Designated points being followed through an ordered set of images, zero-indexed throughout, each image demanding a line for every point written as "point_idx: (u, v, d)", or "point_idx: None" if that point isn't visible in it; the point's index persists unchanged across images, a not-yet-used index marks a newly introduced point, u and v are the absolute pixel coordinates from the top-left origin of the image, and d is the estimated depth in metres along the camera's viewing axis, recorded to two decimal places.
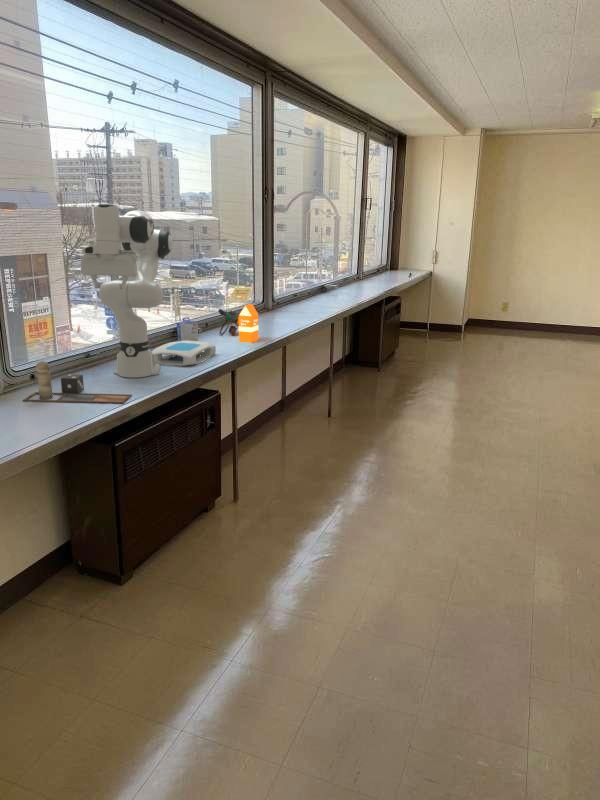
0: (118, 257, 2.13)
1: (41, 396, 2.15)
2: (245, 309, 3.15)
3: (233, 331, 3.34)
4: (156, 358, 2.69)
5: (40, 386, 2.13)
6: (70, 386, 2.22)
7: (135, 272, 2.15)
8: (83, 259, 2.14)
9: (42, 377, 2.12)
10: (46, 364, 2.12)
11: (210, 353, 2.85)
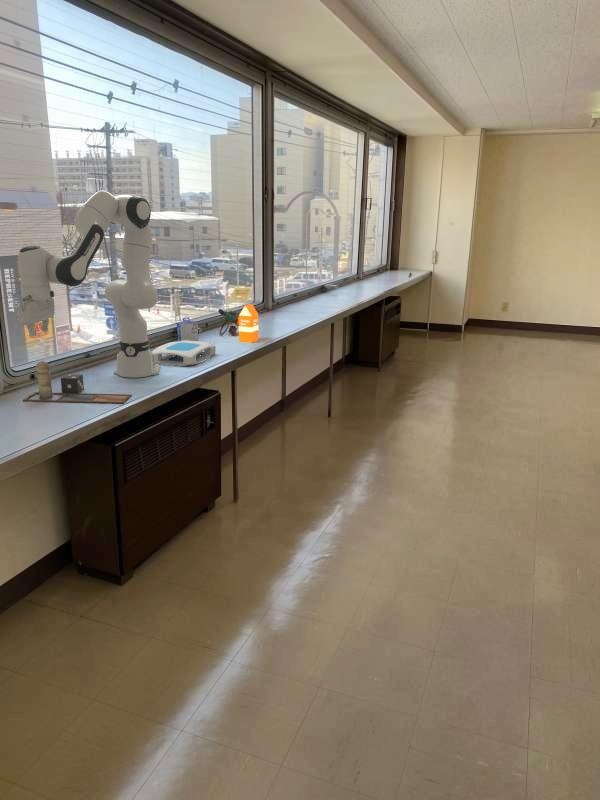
0: None
1: (41, 396, 2.15)
2: (245, 309, 3.15)
3: (233, 331, 3.34)
4: (156, 358, 2.69)
5: (40, 386, 2.13)
6: (70, 386, 2.22)
7: (22, 321, 1.98)
8: None
9: (42, 377, 2.12)
10: (46, 364, 2.12)
11: (210, 353, 2.85)
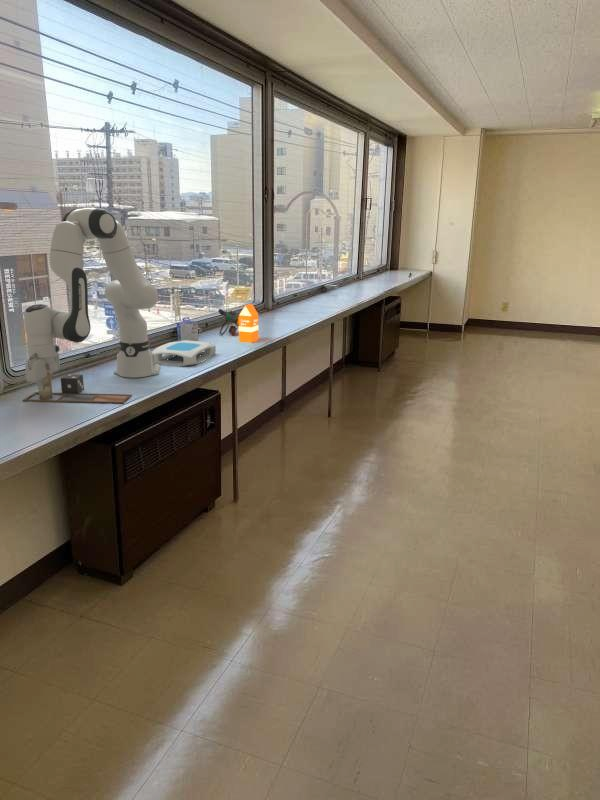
0: None
1: (41, 396, 2.15)
2: (245, 309, 3.15)
3: (233, 331, 3.34)
4: (156, 358, 2.69)
5: None
6: (70, 386, 2.22)
7: (29, 379, 2.04)
8: None
9: None
10: (46, 364, 2.12)
11: (210, 353, 2.85)
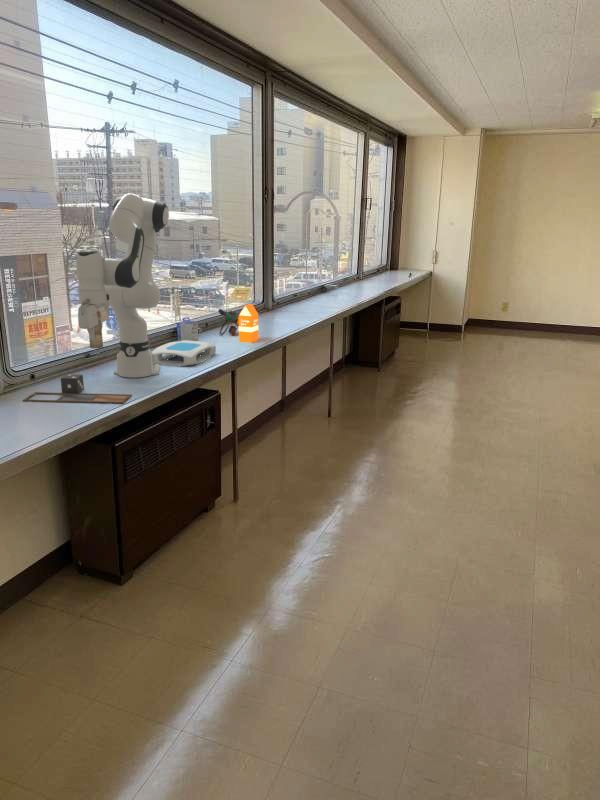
0: None
1: (92, 345, 2.09)
2: (245, 309, 3.15)
3: (233, 331, 3.34)
4: (156, 358, 2.69)
5: None
6: (70, 386, 2.22)
7: (82, 325, 1.98)
8: None
9: None
10: (97, 311, 2.06)
11: (210, 353, 2.85)
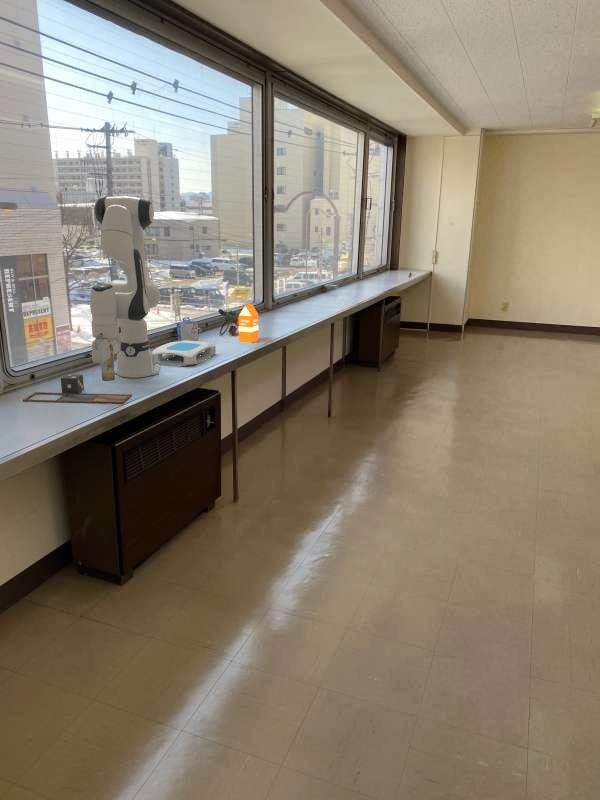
0: None
1: (104, 377, 2.12)
2: (245, 309, 3.15)
3: (233, 331, 3.34)
4: (156, 358, 2.69)
5: None
6: (70, 386, 2.22)
7: (95, 359, 2.02)
8: None
9: None
10: (110, 345, 2.10)
11: (210, 353, 2.85)
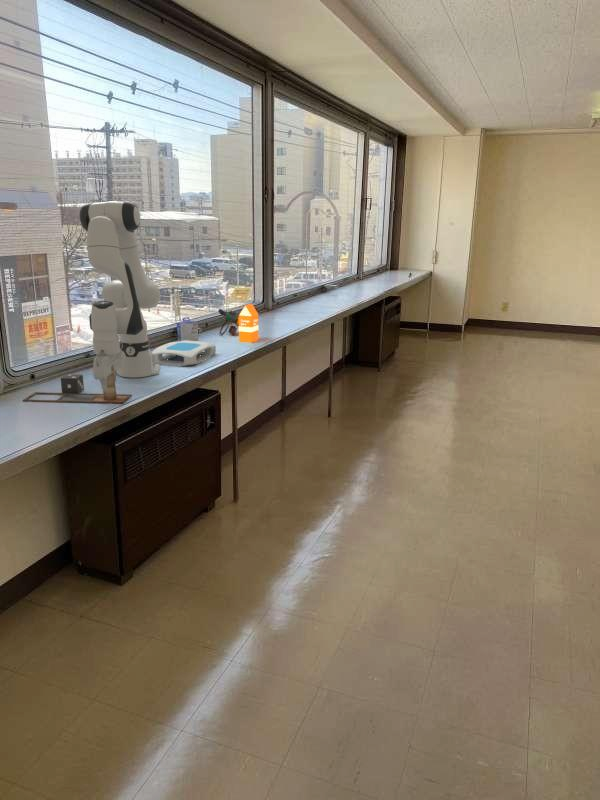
0: None
1: (106, 397, 2.14)
2: (245, 309, 3.15)
3: (233, 331, 3.34)
4: (156, 358, 2.69)
5: None
6: (70, 386, 2.22)
7: (97, 376, 2.04)
8: None
9: (107, 379, 2.12)
10: None
11: (210, 353, 2.85)
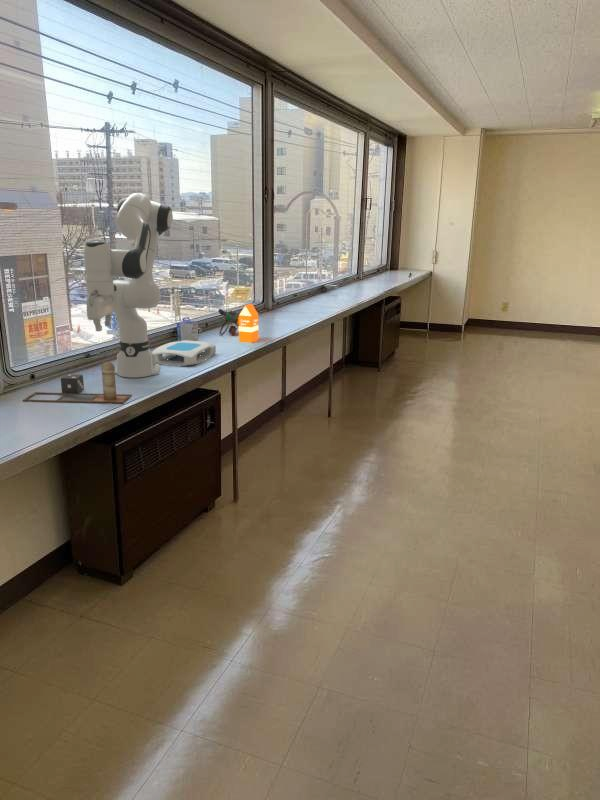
0: None
1: (106, 397, 2.14)
2: (245, 309, 3.15)
3: (233, 331, 3.34)
4: (157, 358, 2.69)
5: (105, 387, 2.13)
6: (70, 386, 2.22)
7: (90, 316, 1.98)
8: None
9: (108, 378, 2.12)
10: (111, 364, 2.12)
11: (210, 353, 2.85)
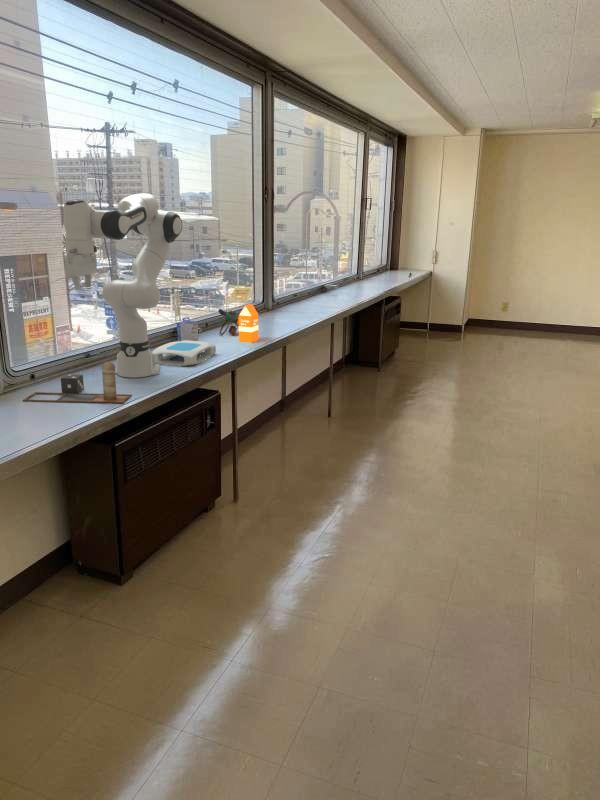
0: None
1: (106, 397, 2.14)
2: (245, 309, 3.15)
3: (233, 331, 3.34)
4: (157, 358, 2.69)
5: (105, 387, 2.13)
6: (70, 386, 2.22)
7: (69, 273, 2.00)
8: None
9: (108, 378, 2.12)
10: (112, 364, 2.12)
11: (210, 353, 2.85)
